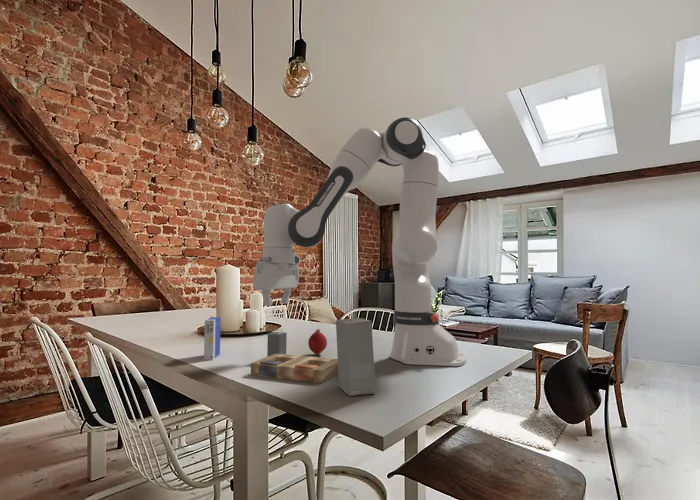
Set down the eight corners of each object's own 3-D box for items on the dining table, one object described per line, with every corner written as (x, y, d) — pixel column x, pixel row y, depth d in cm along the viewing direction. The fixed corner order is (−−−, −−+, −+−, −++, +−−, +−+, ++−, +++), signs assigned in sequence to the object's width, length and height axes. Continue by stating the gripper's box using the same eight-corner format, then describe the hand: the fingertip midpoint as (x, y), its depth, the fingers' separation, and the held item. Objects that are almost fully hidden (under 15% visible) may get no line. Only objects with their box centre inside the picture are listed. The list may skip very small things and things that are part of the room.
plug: (286, 359, 117) (286, 330, 117) (279, 362, 113) (279, 332, 113) (274, 358, 118) (274, 329, 118) (267, 361, 114) (267, 331, 115)
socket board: (340, 370, 104) (340, 357, 104) (321, 383, 93) (321, 369, 93) (275, 364, 111) (275, 352, 111) (250, 375, 100) (250, 361, 100)
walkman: (211, 354, 124) (211, 316, 124) (219, 354, 124) (220, 315, 124) (203, 360, 116) (204, 319, 116) (212, 359, 116) (213, 319, 117)
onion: (319, 357, 119) (319, 331, 119) (304, 355, 122) (304, 329, 122) (330, 354, 124) (330, 328, 124) (315, 352, 127) (315, 327, 127)
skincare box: (376, 394, 85) (376, 321, 85) (344, 397, 83) (344, 322, 83) (363, 383, 93) (363, 316, 93) (334, 386, 91) (335, 317, 91)
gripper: (267, 256, 106) (266, 308, 105) (302, 258, 125) (302, 302, 124) (248, 256, 108) (247, 307, 108) (285, 258, 127) (284, 301, 127)
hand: (276, 304), depth 116 cm, fingers open, 8 cm apart
